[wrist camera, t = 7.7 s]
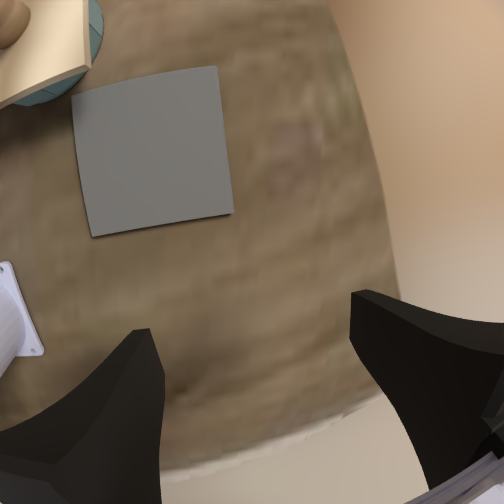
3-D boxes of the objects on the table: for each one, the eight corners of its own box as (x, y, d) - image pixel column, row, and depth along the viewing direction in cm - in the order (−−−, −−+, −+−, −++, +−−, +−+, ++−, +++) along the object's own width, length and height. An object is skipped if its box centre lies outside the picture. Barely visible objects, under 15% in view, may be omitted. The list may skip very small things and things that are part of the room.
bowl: (0, 122, 14) (-34, 120, 11) (4, 21, 11) (-23, 6, 8) (106, 84, 15) (84, 69, 11) (106, -21, 12) (90, -49, 9)
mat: (94, 234, 18) (92, 236, 17) (74, 97, 15) (71, 95, 14) (233, 210, 19) (234, 212, 18) (216, 67, 16) (217, 65, 16)
